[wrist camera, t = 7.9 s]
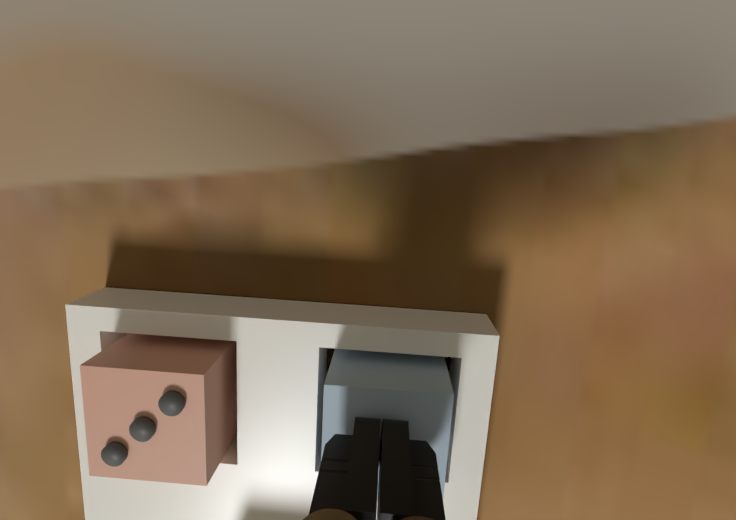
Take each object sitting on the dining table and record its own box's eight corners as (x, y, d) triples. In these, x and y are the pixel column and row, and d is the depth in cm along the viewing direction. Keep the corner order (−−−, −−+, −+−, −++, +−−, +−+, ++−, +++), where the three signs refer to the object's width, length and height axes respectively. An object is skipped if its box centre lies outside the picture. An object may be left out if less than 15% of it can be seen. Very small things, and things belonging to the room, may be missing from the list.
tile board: (486, 314, 16) (499, 336, 14) (446, 656, 19) (452, 713, 17) (104, 287, 16) (65, 304, 14) (129, 624, 19) (100, 676, 18)
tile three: (239, 334, 16) (200, 378, 13) (239, 428, 17) (204, 490, 13) (137, 327, 16) (74, 368, 13) (142, 420, 17) (85, 480, 14)
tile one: (442, 350, 15) (455, 398, 12) (433, 444, 16) (442, 512, 13) (337, 342, 16) (322, 388, 12) (333, 436, 16) (318, 501, 13)
